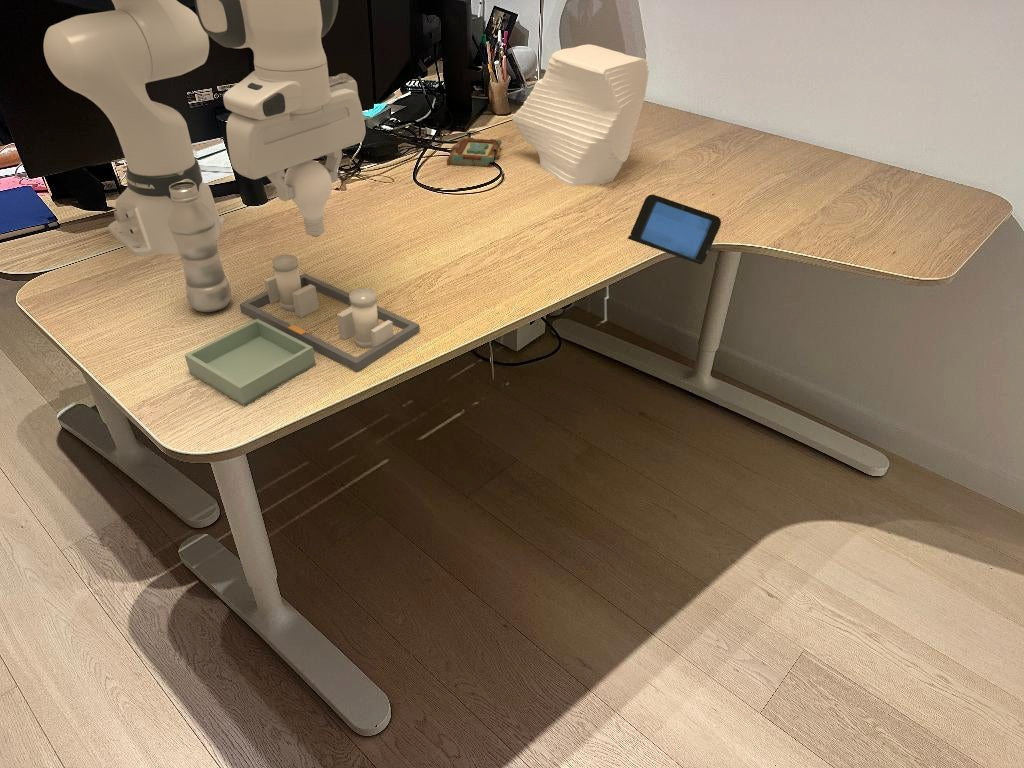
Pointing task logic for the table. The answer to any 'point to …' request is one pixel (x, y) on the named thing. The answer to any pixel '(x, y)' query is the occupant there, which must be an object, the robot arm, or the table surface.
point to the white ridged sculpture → (584, 113)
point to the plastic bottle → (198, 248)
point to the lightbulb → (310, 193)
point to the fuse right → (364, 315)
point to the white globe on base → (286, 279)
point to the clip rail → (308, 303)
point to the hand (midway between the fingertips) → (309, 190)
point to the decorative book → (474, 152)
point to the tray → (250, 361)
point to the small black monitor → (675, 228)
